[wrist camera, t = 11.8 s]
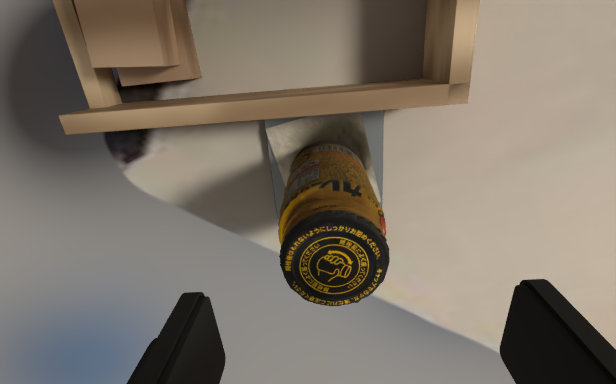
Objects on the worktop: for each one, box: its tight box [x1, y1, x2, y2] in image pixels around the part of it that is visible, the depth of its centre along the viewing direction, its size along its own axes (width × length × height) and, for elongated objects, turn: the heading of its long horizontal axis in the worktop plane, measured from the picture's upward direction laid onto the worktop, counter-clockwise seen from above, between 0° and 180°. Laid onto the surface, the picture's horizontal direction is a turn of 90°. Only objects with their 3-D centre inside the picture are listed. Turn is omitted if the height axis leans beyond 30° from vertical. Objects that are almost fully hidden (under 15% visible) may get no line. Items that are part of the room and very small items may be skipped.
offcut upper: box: [74, 0, 180, 68], centre depth 19 cm, size 7×4×2 cm, turn 1°
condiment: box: [265, 112, 389, 306], centre depth 20 cm, size 7×8×12 cm
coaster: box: [264, 110, 384, 218], centre depth 25 cm, size 9×9×1 cm
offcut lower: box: [116, 0, 202, 86], centre depth 21 cm, size 9×5×2 cm, turn 6°
